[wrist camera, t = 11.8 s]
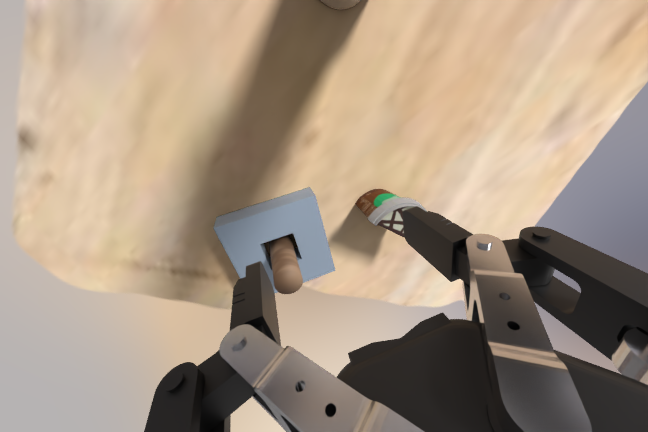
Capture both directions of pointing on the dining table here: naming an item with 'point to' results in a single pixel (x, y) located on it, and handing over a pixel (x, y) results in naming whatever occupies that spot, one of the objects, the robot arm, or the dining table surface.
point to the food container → (386, 209)
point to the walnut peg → (285, 265)
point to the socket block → (277, 234)
